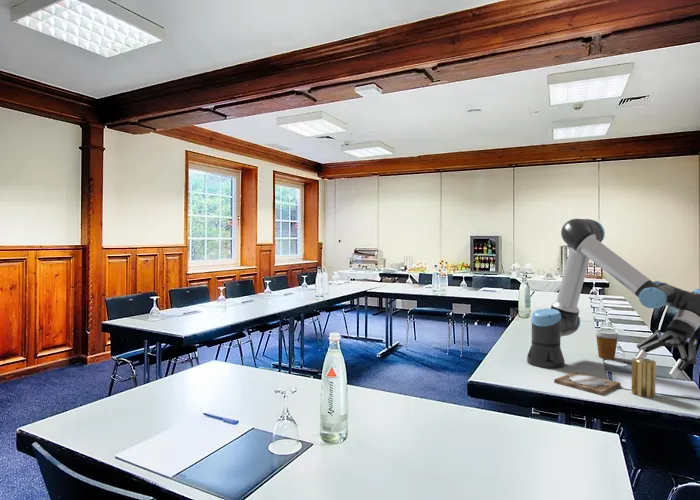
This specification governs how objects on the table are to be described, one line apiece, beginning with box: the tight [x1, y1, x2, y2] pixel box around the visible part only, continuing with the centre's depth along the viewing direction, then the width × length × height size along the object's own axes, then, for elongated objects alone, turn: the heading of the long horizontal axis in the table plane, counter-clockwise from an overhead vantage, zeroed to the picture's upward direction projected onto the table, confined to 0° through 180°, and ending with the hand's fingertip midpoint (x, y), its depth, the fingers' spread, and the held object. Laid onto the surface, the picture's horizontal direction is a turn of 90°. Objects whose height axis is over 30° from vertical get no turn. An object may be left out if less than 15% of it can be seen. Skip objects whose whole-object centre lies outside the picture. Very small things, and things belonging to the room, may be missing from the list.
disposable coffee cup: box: [594, 329, 620, 360], centre depth 204 cm, size 10×10×12 cm
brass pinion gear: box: [631, 357, 657, 399], centre depth 156 cm, size 7×7×12 cm
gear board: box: [553, 371, 622, 396], centre depth 167 cm, size 17×16×2 cm
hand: (652, 370), depth 156 cm, fingers open, 13 cm apart
